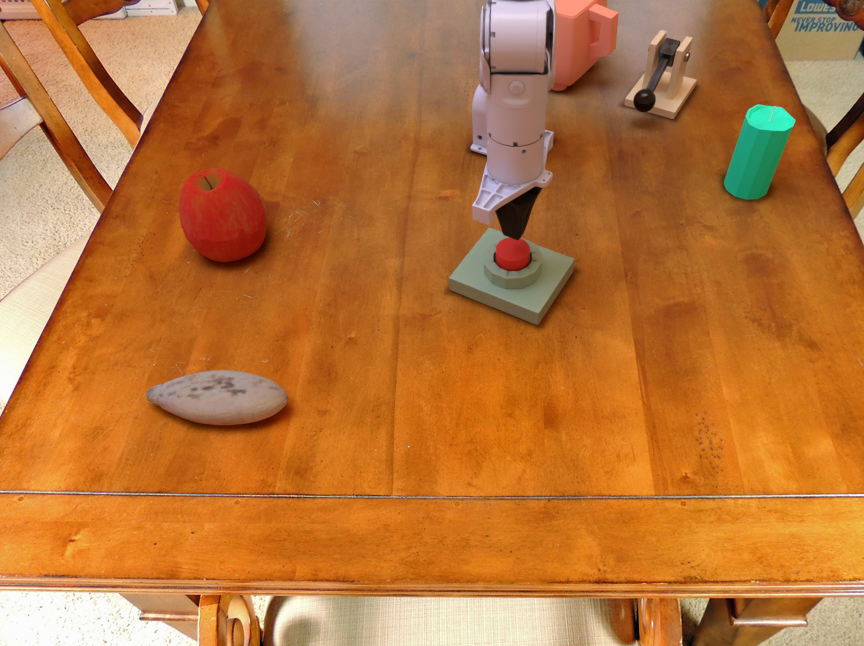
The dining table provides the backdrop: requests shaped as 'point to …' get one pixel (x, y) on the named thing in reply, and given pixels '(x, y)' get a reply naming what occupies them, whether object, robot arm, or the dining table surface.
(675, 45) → the lever
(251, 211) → the apple
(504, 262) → the button
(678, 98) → the bracket
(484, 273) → the button block
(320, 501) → the dining table surface
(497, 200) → the robot arm
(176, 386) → the decorative stone
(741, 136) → the candle
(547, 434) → the dining table surface
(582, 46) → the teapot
